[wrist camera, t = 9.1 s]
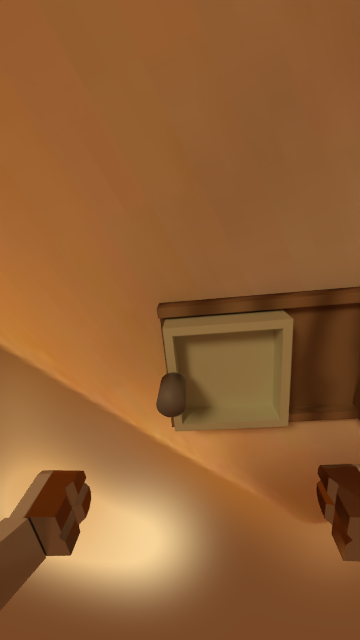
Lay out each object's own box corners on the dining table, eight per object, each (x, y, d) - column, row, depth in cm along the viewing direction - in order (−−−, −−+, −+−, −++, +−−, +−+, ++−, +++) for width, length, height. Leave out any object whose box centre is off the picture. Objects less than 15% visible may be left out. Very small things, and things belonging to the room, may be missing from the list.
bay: (374, 285, 30) (404, 293, 26) (356, 405, 35) (378, 429, 31) (159, 303, 32) (154, 313, 28) (173, 414, 37) (171, 438, 33)
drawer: (280, 308, 30) (310, 332, 23) (277, 405, 35) (301, 452, 27) (158, 318, 31) (147, 344, 24) (170, 410, 36) (164, 458, 28)
